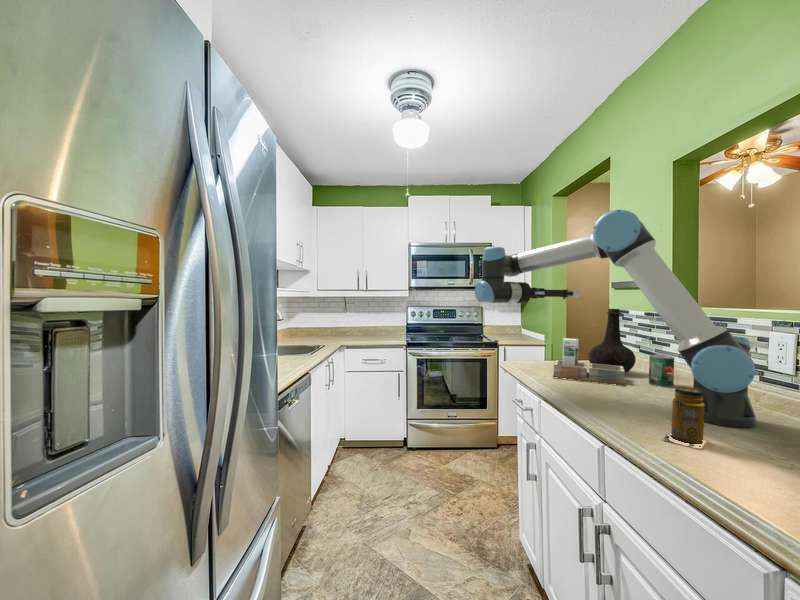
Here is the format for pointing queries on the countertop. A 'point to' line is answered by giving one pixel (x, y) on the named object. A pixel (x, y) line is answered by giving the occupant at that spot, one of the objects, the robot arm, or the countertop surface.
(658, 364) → the canned tomato
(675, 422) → the condiment
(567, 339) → the syrup box
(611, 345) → the glass bottle
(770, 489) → the countertop surface
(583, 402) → the countertop surface
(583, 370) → the socket board
